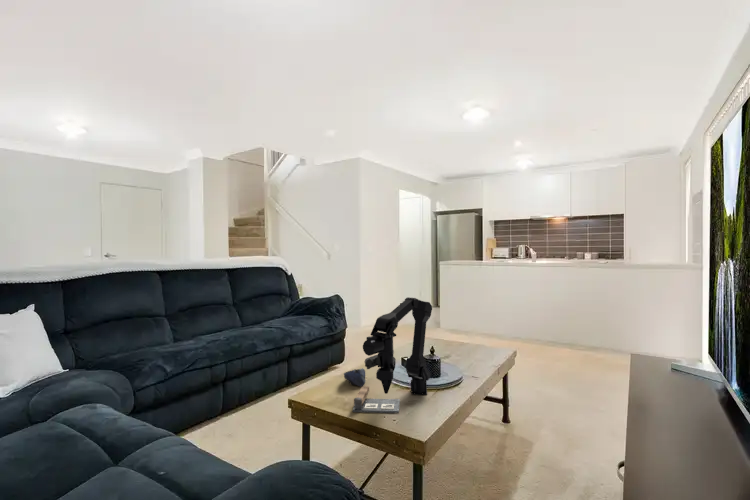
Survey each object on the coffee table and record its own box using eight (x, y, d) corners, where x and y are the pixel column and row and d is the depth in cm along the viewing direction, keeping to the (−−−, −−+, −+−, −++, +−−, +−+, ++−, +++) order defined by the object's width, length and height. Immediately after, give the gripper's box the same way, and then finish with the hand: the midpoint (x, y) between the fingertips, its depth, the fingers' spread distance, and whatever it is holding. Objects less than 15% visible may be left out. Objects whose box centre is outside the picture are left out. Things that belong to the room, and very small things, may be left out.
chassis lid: (400, 401, 157) (399, 398, 157) (398, 413, 146) (398, 410, 146) (356, 400, 159) (356, 397, 159) (352, 412, 148) (352, 409, 148)
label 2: (394, 404, 152) (394, 403, 152) (393, 409, 148) (393, 408, 148) (381, 404, 152) (381, 403, 152) (380, 409, 148) (380, 407, 148)
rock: (346, 391, 169) (368, 385, 170) (342, 372, 172) (363, 366, 173) (348, 389, 184) (368, 384, 185) (344, 372, 187) (364, 367, 187)
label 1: (378, 404, 152) (378, 403, 152) (377, 408, 148) (377, 407, 148) (365, 404, 153) (365, 403, 153) (364, 408, 149) (364, 407, 149)
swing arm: (362, 391, 164) (362, 385, 164) (369, 392, 163) (369, 385, 163) (353, 408, 148) (353, 400, 148) (360, 408, 147) (360, 400, 147)
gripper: (368, 343, 160) (369, 379, 160) (362, 356, 141) (363, 398, 141) (395, 343, 158) (396, 380, 159) (392, 356, 140) (393, 398, 140)
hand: (387, 388), depth 150 cm, fingers open, 9 cm apart
